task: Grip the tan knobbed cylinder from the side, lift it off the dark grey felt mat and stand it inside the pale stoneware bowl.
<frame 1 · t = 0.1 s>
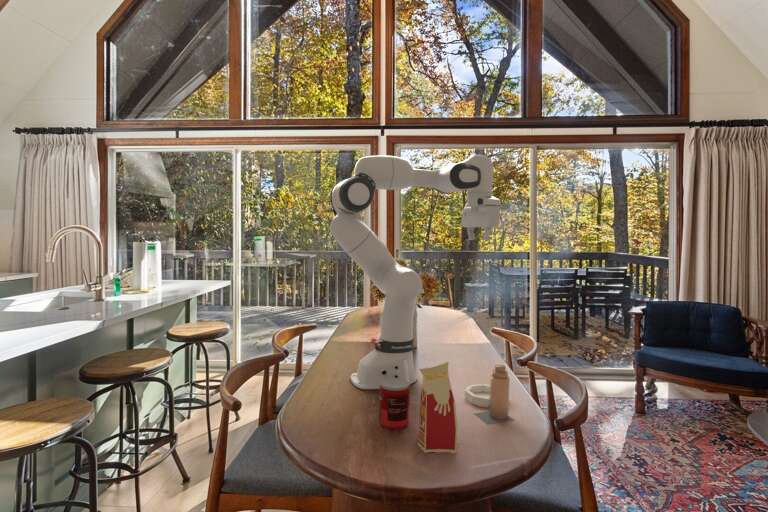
hand: (478, 240, 154), 48 cm above the table, tool pointing down, fingers open, 8 cm apart
bowl: (485, 400, 130), on the table
tan knobbed cylinder: (498, 416, 118), resting on felt mat
felt mat: (493, 417, 118), on the table
milk carton: (435, 444, 103), on the table
canned food: (393, 424, 114), on the table
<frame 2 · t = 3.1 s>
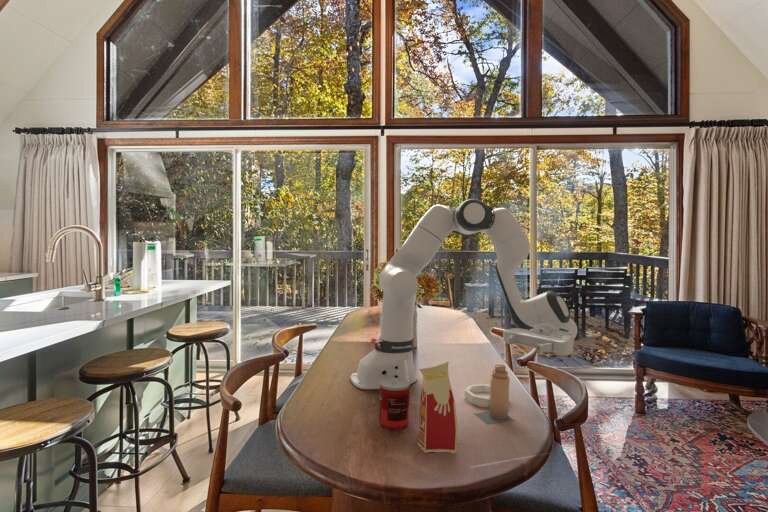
hand: (523, 344, 126), 18 cm above the table, tool horizontal, fingers open, 8 cm apart
nothing on the table moved.
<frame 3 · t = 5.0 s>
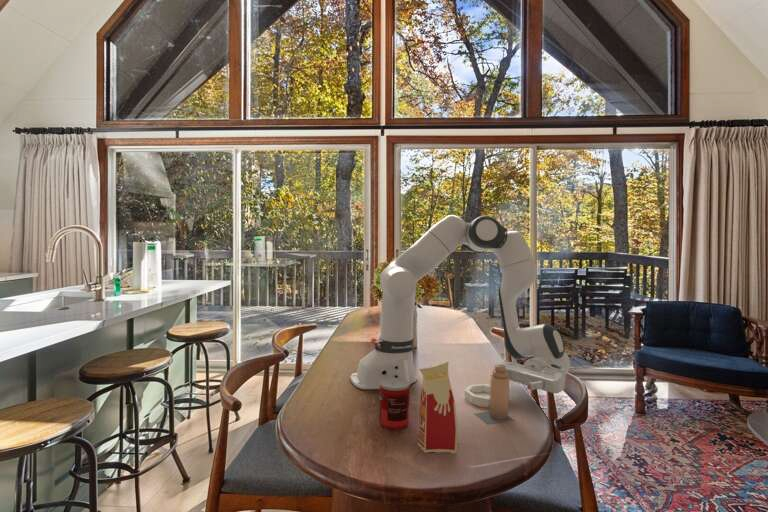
hand: (514, 382, 123), 8 cm above the table, tool horizontal, fingers open, 8 cm apart
nothing on the table moved.
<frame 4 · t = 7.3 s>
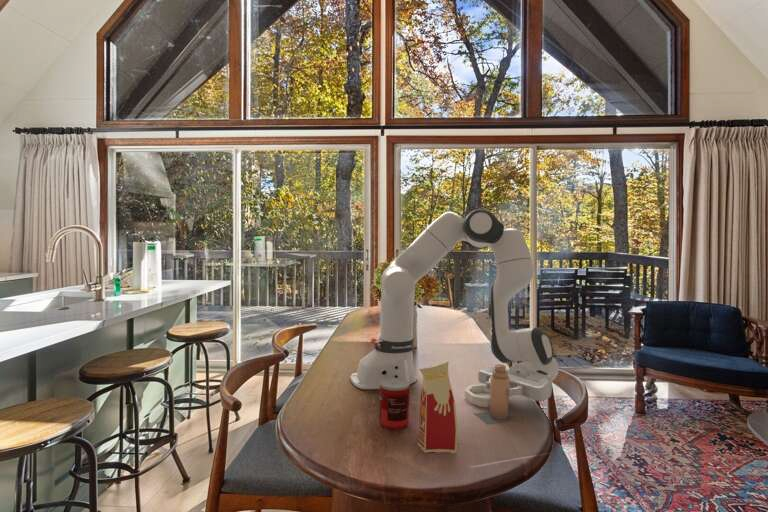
hand: (497, 389, 117), 8 cm above the table, tool horizontal, fingers closed on tan knobbed cylinder, 5 cm apart
tan knobbed cylinder: (498, 416, 118), resting on felt mat, touching gripper
everything else where it was.
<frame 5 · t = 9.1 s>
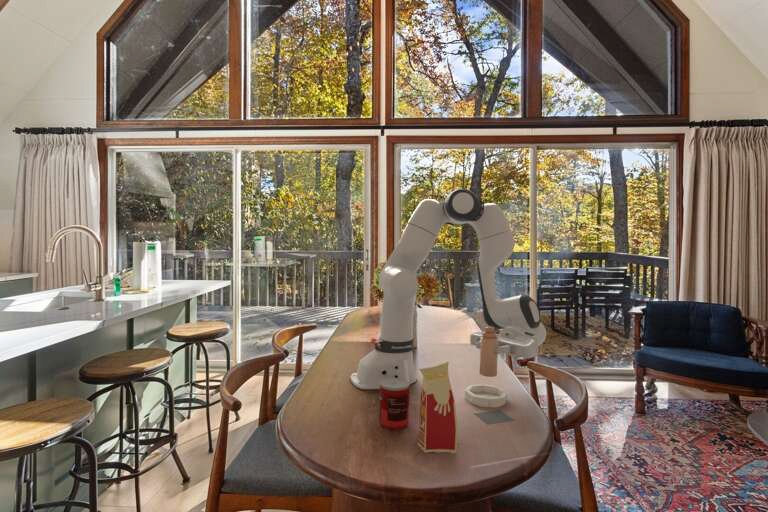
hand: (487, 348, 126), 17 cm above the table, tool horizontal, fingers closed on tan knobbed cylinder, 5 cm apart
tan knobbed cylinder: (488, 373, 127), point 9 cm above the table, touching gripper
everything else where it was.
when the fingers open (10 cm above the table, at t = 11.0 s): tan knobbed cylinder drops 1 cm, resting on bowl.
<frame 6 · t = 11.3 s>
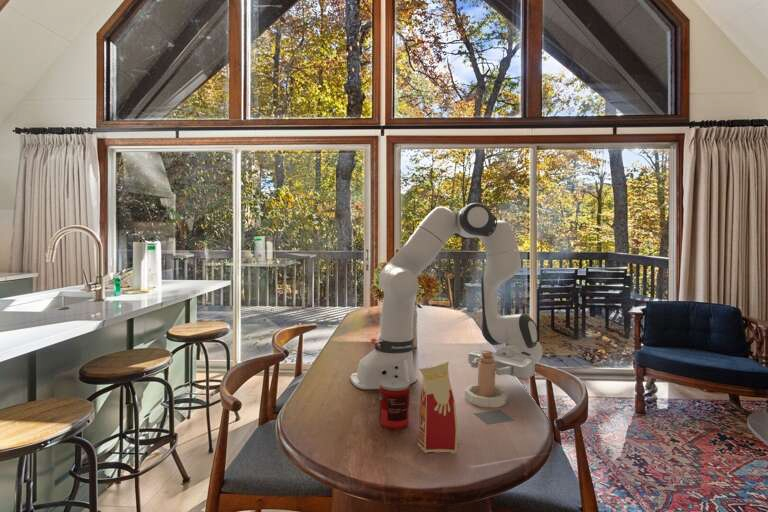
hand: (485, 368, 129), 10 cm above the table, tool horizontal, fingers open, 7 cm apart
tan knobbed cylinder: (485, 397, 130), point 1 cm above the table, touching bowl
everything else where it was.
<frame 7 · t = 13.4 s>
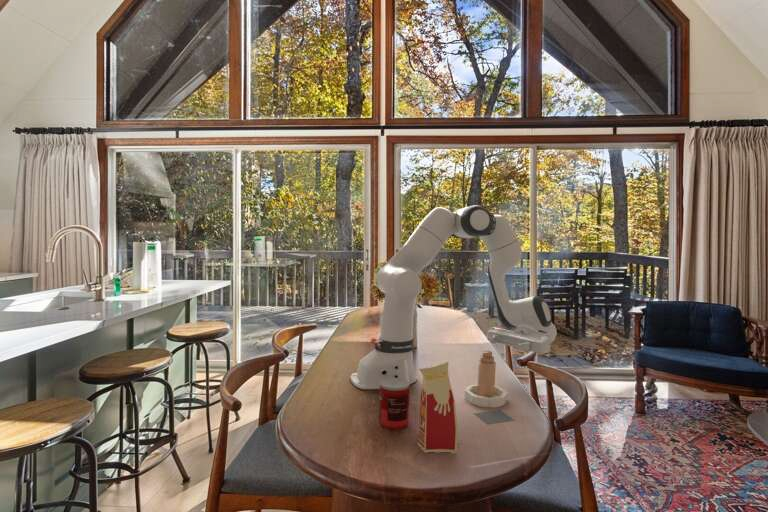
hand: (504, 343, 138), 15 cm above the table, tool horizontal, fingers open, 8 cm apart
nothing on the table moved.
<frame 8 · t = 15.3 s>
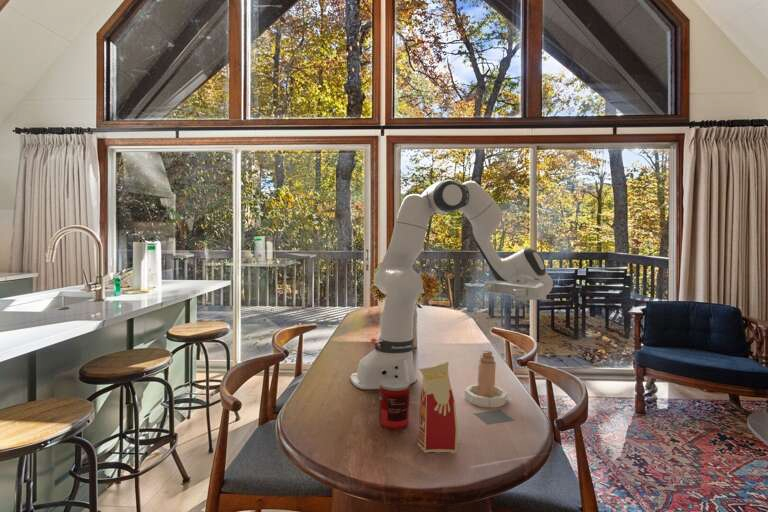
hand: (501, 291, 138), 32 cm above the table, tool horizontal, fingers open, 8 cm apart
nothing on the table moved.
at the end: tan knobbed cylinder 0.0 cm off-centre on the bowl, point 0.8 cm above the bowl's base; tan knobbed cylinder tilted 0°; the gripper is holding nothing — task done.
